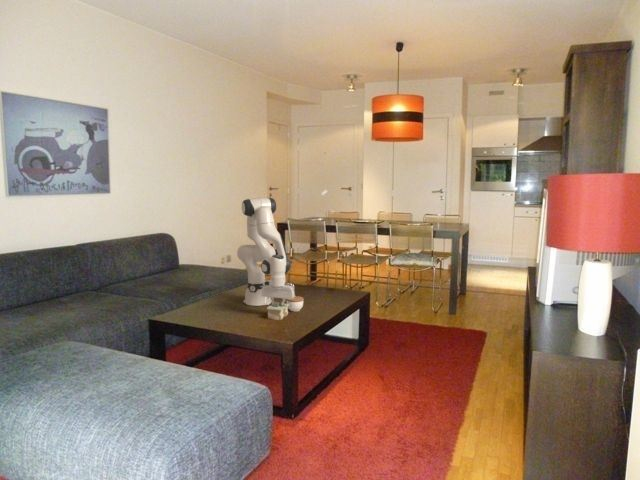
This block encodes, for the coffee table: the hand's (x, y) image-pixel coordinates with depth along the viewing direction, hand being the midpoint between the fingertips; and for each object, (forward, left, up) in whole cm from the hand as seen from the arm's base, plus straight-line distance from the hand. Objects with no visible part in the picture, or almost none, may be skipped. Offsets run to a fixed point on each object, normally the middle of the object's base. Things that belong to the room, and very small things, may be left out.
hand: (278, 305), depth 295 cm
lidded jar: (-18, +4, -8) cm, 20 cm away
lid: (0, 0, -1) cm, 1 cm away
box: (0, 0, -7) cm, 7 cm away
